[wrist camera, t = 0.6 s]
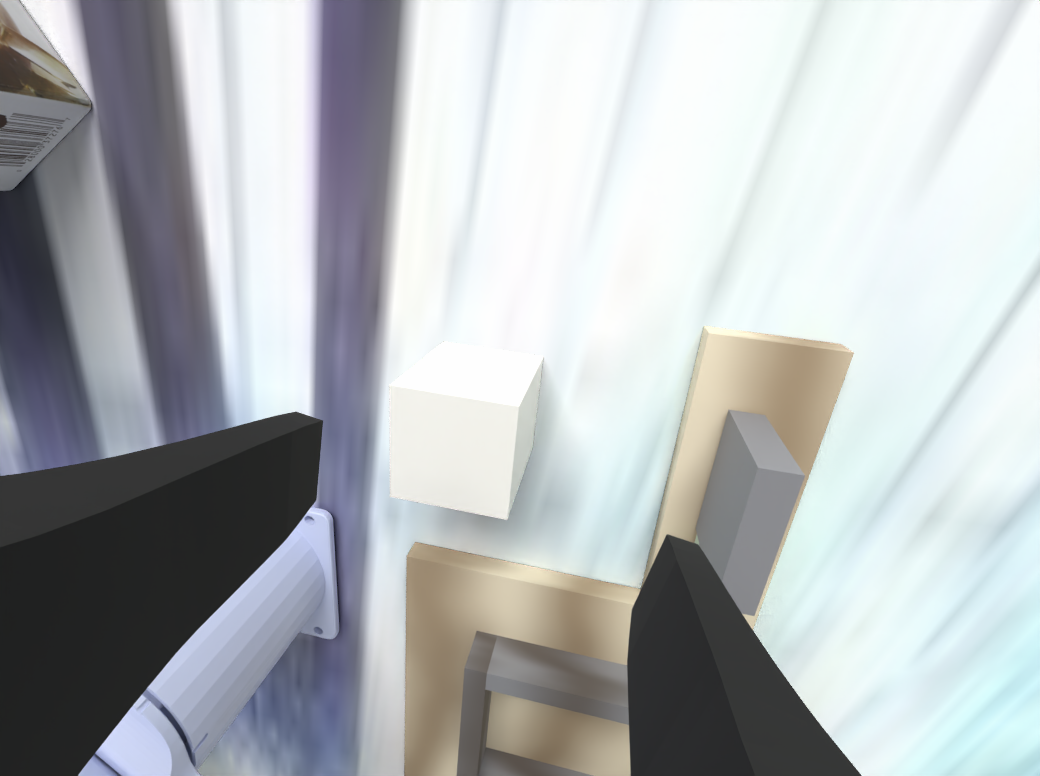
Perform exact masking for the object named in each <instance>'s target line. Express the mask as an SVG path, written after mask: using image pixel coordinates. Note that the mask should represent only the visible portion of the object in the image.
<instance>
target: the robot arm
mask: <svg viewBox="0 0 1040 776" xmlns="http://www.w3.org/2000/svg"><path fill="white" fill-rule="evenodd" d="M322 425H323V421H322V420H319V419H316V418H313V417H310V416H307V415H304V414H301V413H298V412H292V413H287V414H282V415H278V416H274V417H270V418H266V419H262V420H258V421H254V422H251V423H247V424H243V425H240V426H236V427H232V428H228V429H225V430H221V431H217V432H214V433H210V434H206V435H202V436H199V437H195V438H191V439H187V440H184V441H180V442H175V443H171V444H167V445H163V446H158V447H154V448H150V449H146V450H141V451H137V452H133V453H129V454H125V455H120V456H116V457H111V458H106V459H101V460H96V461H91V462H86V463H81V464H75V465H69V466H64V467H58V468H52V469H46V470H40V471H34V472H28V473H21V474H14V475H6V476H0V776H202V775H200V774H199V772H198V771H197V770H198V769H199V767H200V766H201V765H202V763H203V762H204V761H205V759H206V758H207V757H208V755H209V754H210V753H211V751H212V750H213V748H214V747H215V746H216V744H217V743H218V742H219V740H220V739H221V738H222V736H223V735H224V734H225V732H226V731H227V729H228V728H229V727H230V725H231V724H232V723H233V721H234V720H235V719H236V717H237V716H238V715H239V713H240V712H241V710H242V709H243V708H244V706H245V705H246V704H247V702H248V701H249V700H250V698H251V697H252V696H253V694H254V693H255V691H256V690H257V689H258V687H259V686H260V685H261V683H262V682H263V681H264V679H265V678H266V677H267V675H268V674H269V673H270V671H271V670H272V668H273V667H274V666H275V664H276V663H277V662H278V660H279V659H280V658H281V656H282V655H283V654H284V652H285V651H286V649H287V648H288V647H289V645H290V644H291V643H292V641H293V640H294V639H295V637H296V636H297V635H298V633H299V632H300V633H305V634H309V635H313V636H317V637H321V638H325V639H334V638H335V637H336V636H337V634H338V633H339V614H338V596H337V579H336V562H335V545H334V527H333V518H332V516H331V514H330V513H329V512H327V511H326V510H323V509H318V508H313V507H311V506H312V505H313V504H314V502H315V501H316V496H317V485H318V473H319V461H320V449H321V437H322ZM310 516H311V517H312V518H313V519H314V520H313V519H311V518H310ZM627 677H628V712H629V741H630V770H631V776H861V774H860V773H859V772H858V771H857V769H856V768H855V767H854V766H853V765H852V763H851V762H850V761H849V760H848V758H847V757H846V756H845V755H844V754H843V752H842V751H841V750H840V749H839V747H838V746H837V745H836V744H835V742H834V741H833V740H832V739H831V738H830V736H829V735H828V734H827V733H826V731H825V730H824V729H823V728H822V726H821V725H820V724H819V722H818V721H817V720H816V719H815V717H814V716H813V715H812V713H811V712H810V711H809V709H808V708H807V707H806V705H805V704H804V703H803V701H802V700H801V699H800V697H799V696H798V694H797V693H796V692H795V690H794V689H793V688H792V686H791V685H790V683H789V682H788V681H787V679H786V678H785V677H784V675H783V674H782V672H781V671H780V670H779V668H778V667H777V665H776V664H775V662H774V661H773V660H772V658H771V657H770V655H769V654H768V652H767V651H766V649H765V648H764V646H763V645H762V643H761V642H760V640H759V639H758V637H757V636H756V634H755V633H754V631H753V630H752V628H751V627H750V625H749V624H748V622H747V621H746V619H745V618H744V616H743V614H742V613H741V611H740V610H739V608H738V607H737V605H736V603H735V602H734V600H733V599H732V597H731V595H730V594H729V592H728V591H727V589H726V587H725V586H724V584H723V583H722V581H721V579H720V578H719V576H718V574H717V573H716V571H715V570H714V568H713V566H712V565H711V563H710V562H709V560H708V558H707V557H706V555H705V554H704V552H703V551H702V549H701V548H700V546H699V545H698V544H696V543H693V542H690V541H687V540H684V539H681V538H678V537H674V536H671V535H668V534H667V535H666V537H665V539H664V541H663V543H662V545H661V548H660V550H659V552H658V554H657V556H656V558H655V560H654V563H653V565H652V567H651V569H650V571H649V573H648V576H647V578H646V580H645V582H644V584H643V586H642V588H641V591H640V593H639V595H638V597H637V599H636V601H635V603H634V606H633V608H632V612H631V622H630V632H629V644H628V657H627Z"/></svg>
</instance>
